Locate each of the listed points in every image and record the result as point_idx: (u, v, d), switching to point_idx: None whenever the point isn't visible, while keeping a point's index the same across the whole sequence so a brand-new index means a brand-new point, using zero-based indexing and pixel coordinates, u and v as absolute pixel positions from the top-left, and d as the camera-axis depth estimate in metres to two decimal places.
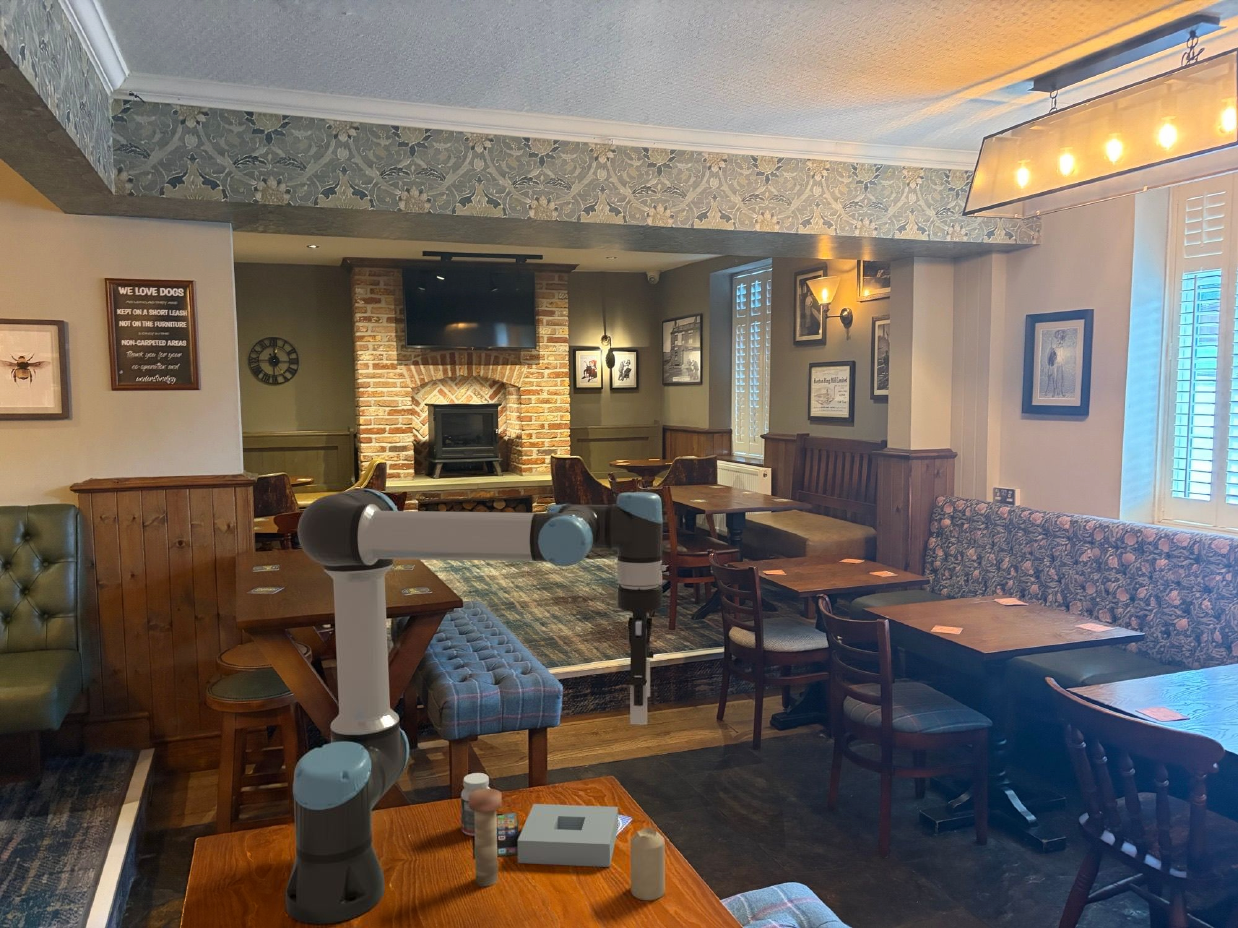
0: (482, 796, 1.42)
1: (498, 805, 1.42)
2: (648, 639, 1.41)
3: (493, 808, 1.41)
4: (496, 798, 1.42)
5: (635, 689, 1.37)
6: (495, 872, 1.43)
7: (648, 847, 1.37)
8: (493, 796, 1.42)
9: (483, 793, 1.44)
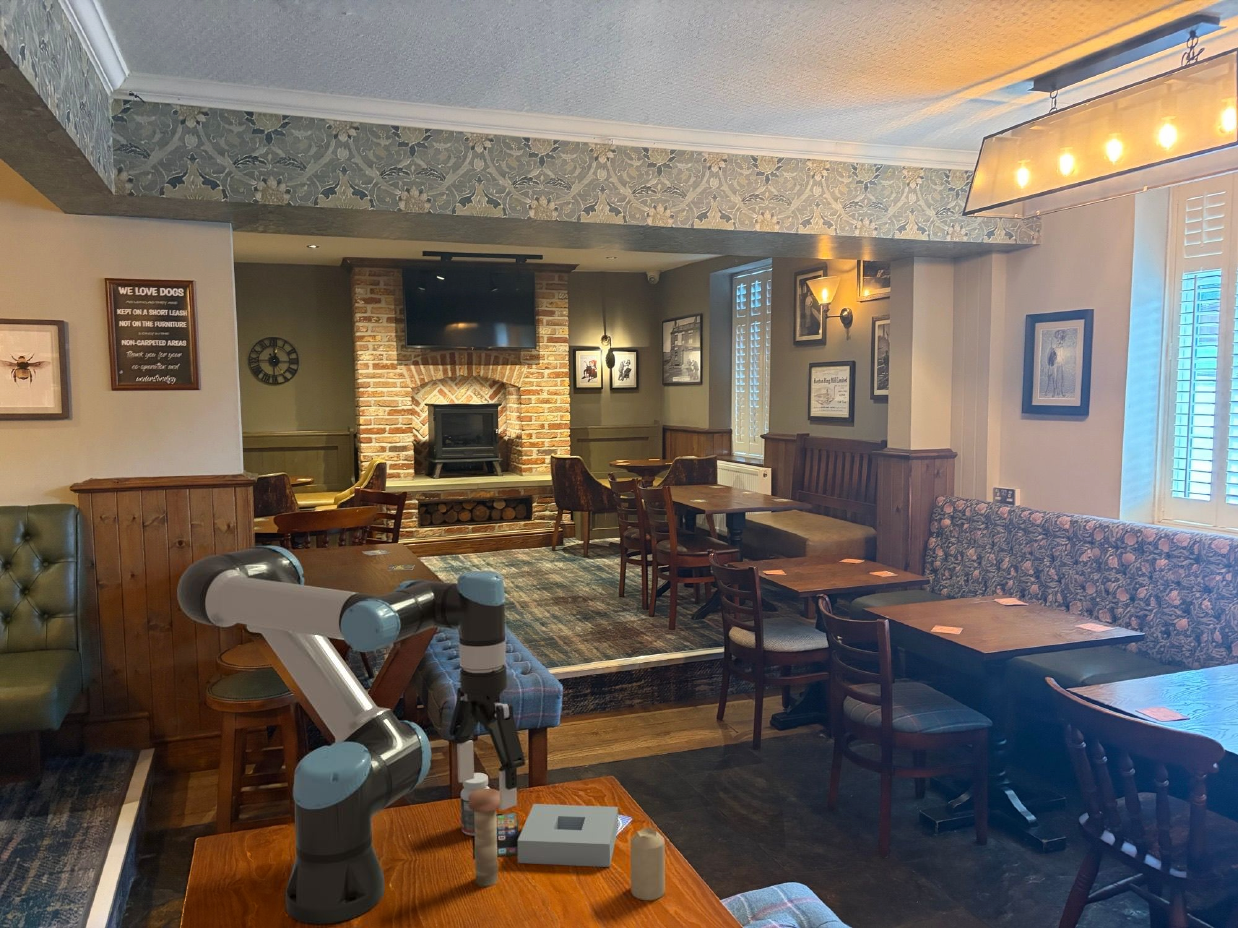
0: (482, 796, 1.42)
1: (498, 805, 1.42)
2: None
3: (493, 808, 1.41)
4: (496, 798, 1.42)
5: (510, 772, 1.35)
6: (495, 872, 1.43)
7: (648, 847, 1.37)
8: (493, 796, 1.42)
9: (482, 793, 1.44)
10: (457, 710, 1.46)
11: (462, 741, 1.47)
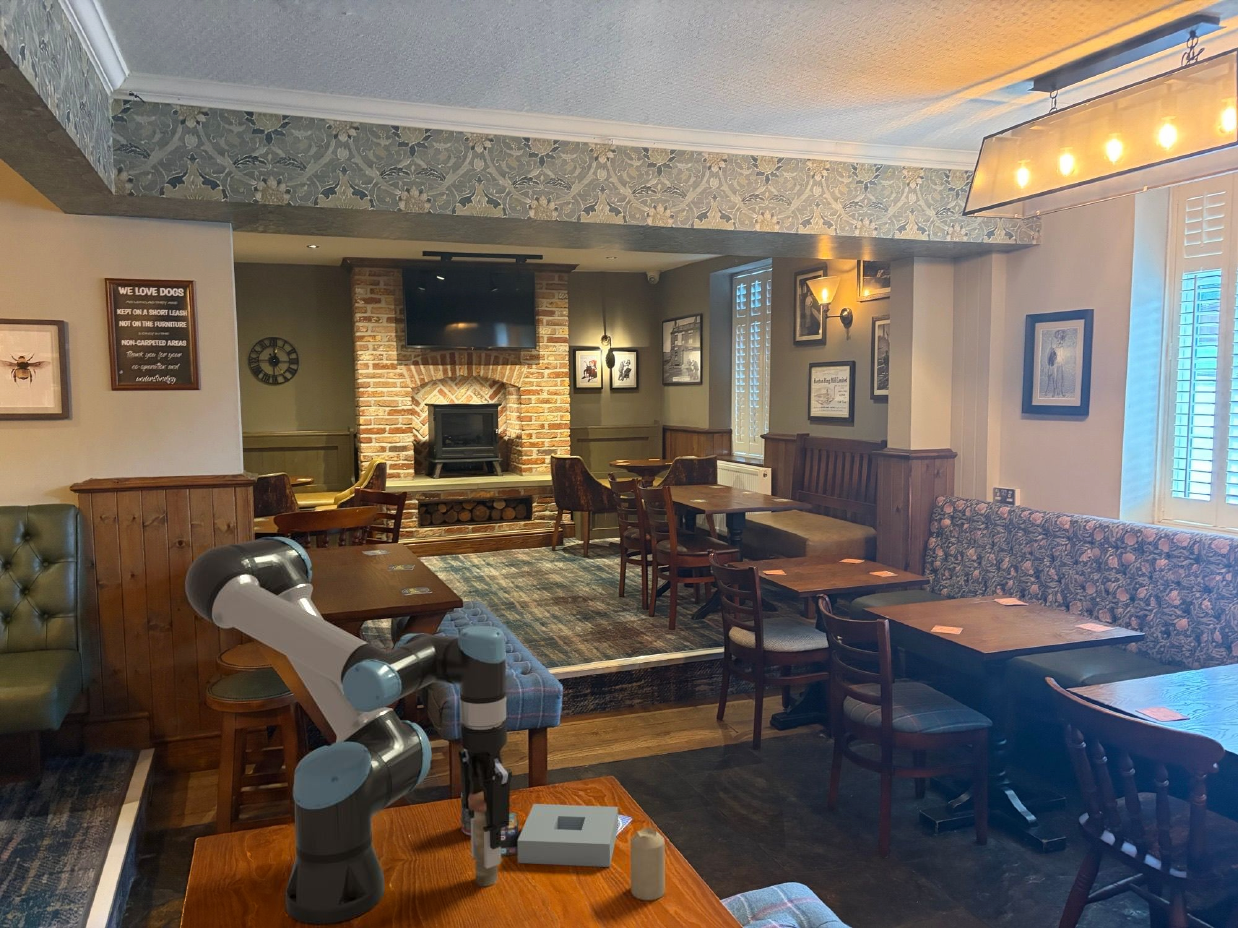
0: (482, 796, 1.42)
1: None
2: None
3: None
4: None
5: (494, 833, 1.40)
6: (495, 872, 1.43)
7: (648, 847, 1.37)
8: None
9: (482, 793, 1.44)
10: (464, 775, 1.45)
11: None
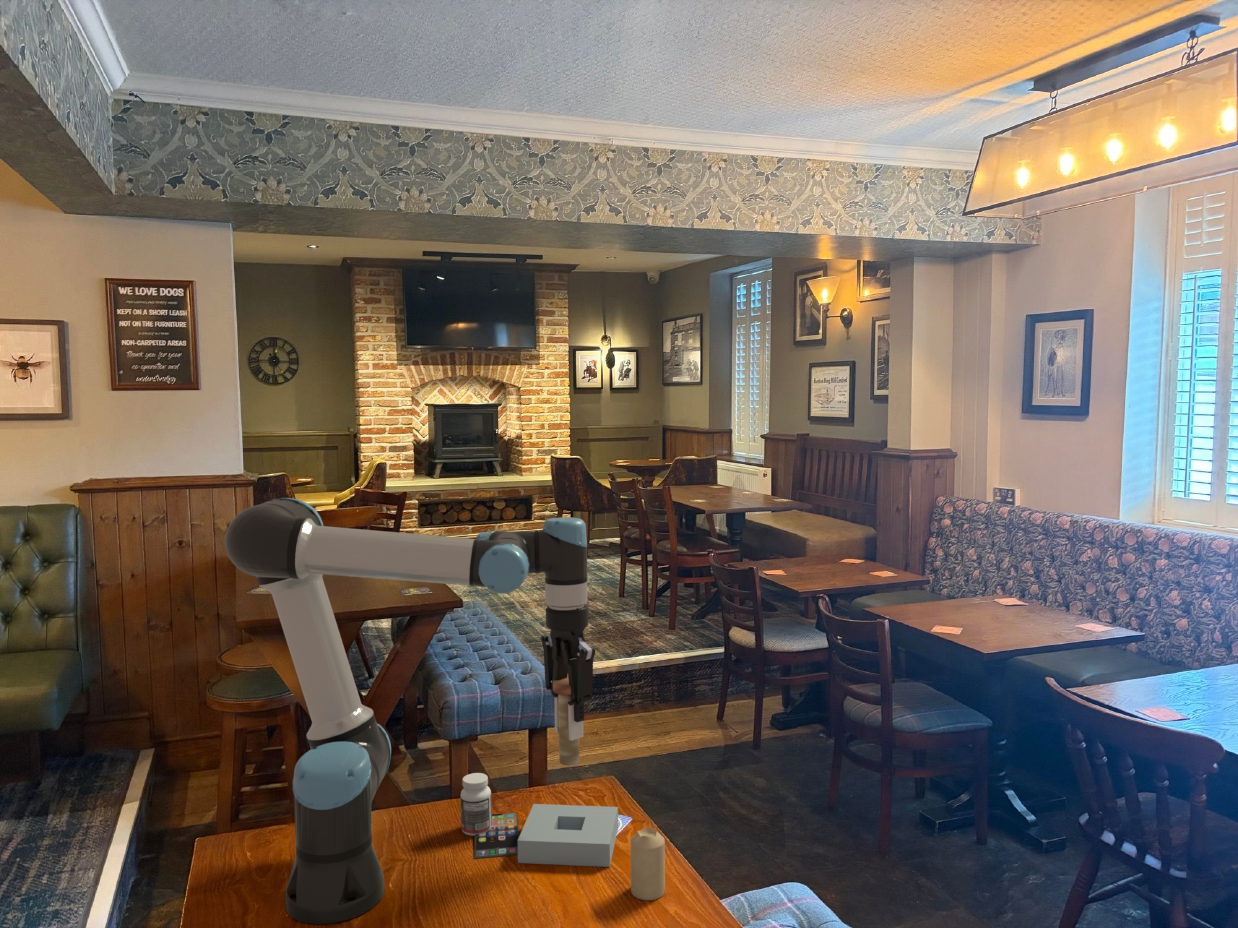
0: (565, 682, 1.53)
1: None
2: None
3: None
4: None
5: (578, 707, 1.50)
6: (578, 753, 1.53)
7: (648, 847, 1.37)
8: None
9: (565, 680, 1.54)
10: (547, 658, 1.56)
11: None
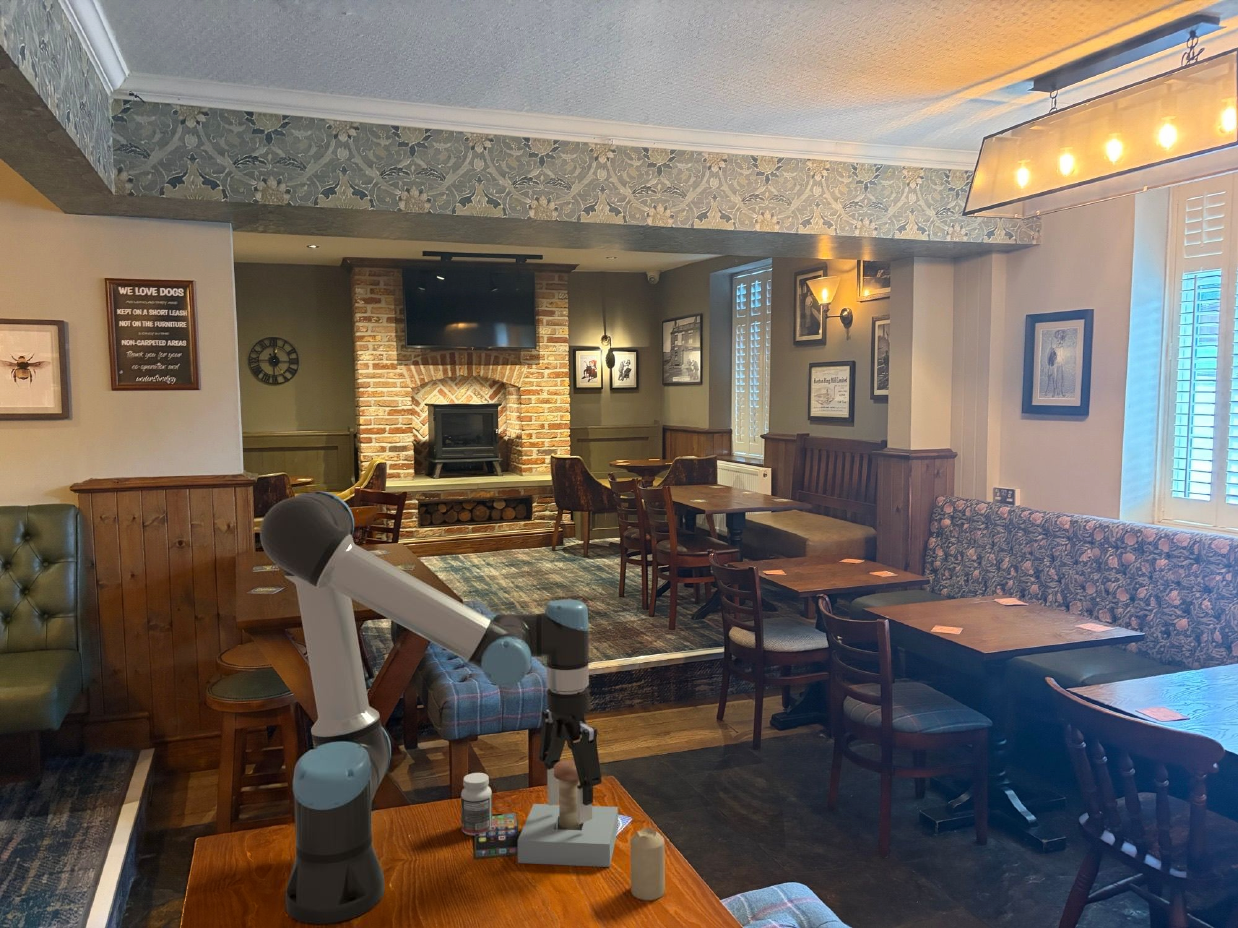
0: (566, 766, 1.54)
1: None
2: None
3: (577, 777, 1.52)
4: None
5: (587, 790, 1.50)
6: None
7: (648, 847, 1.37)
8: None
9: (566, 764, 1.55)
10: (544, 733, 1.58)
11: (551, 767, 1.58)
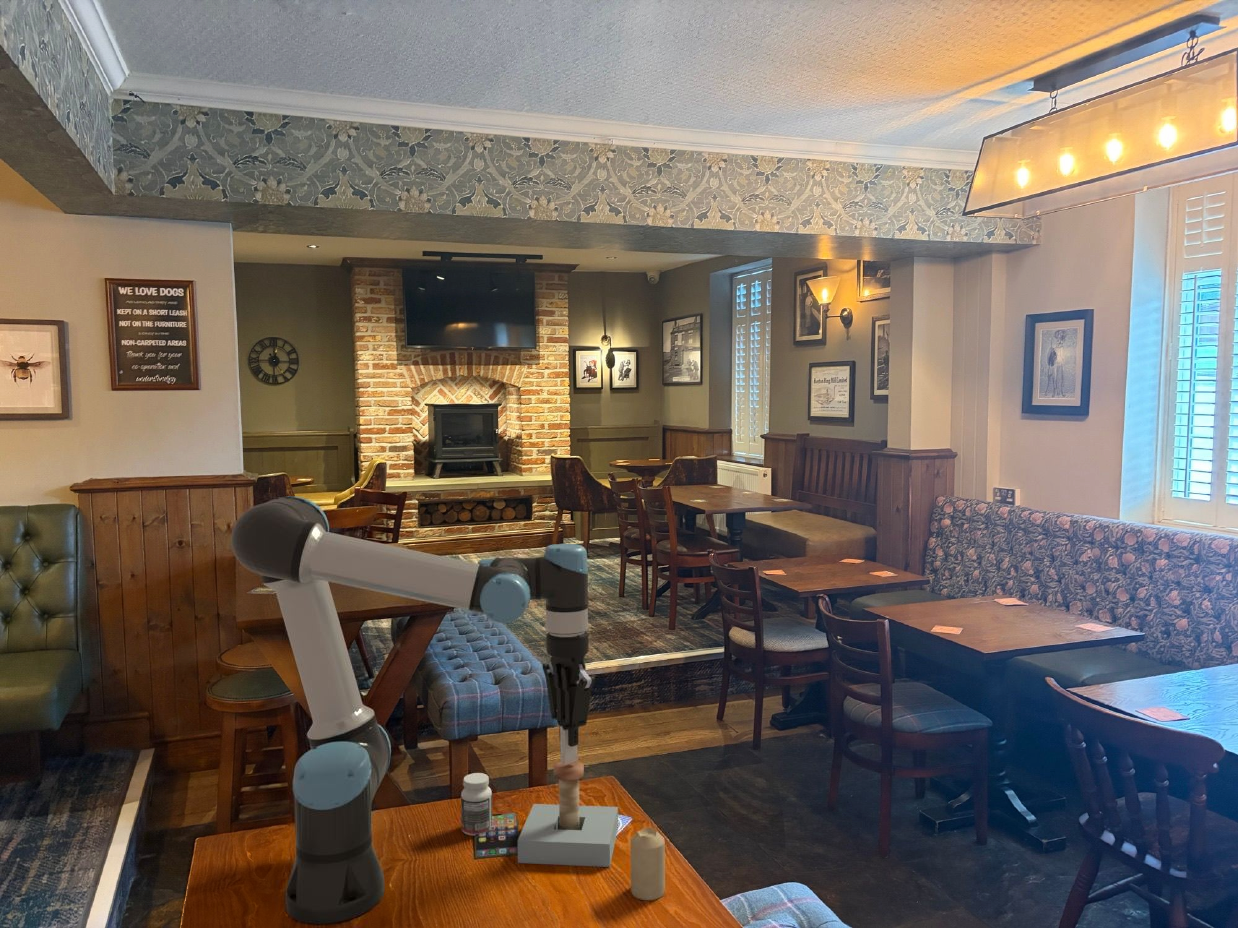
0: (566, 766, 1.54)
1: (581, 774, 1.53)
2: None
3: (577, 777, 1.52)
4: (579, 768, 1.53)
5: (573, 731, 1.52)
6: None
7: (648, 847, 1.37)
8: (577, 767, 1.54)
9: None
10: (550, 686, 1.56)
11: (564, 724, 1.54)
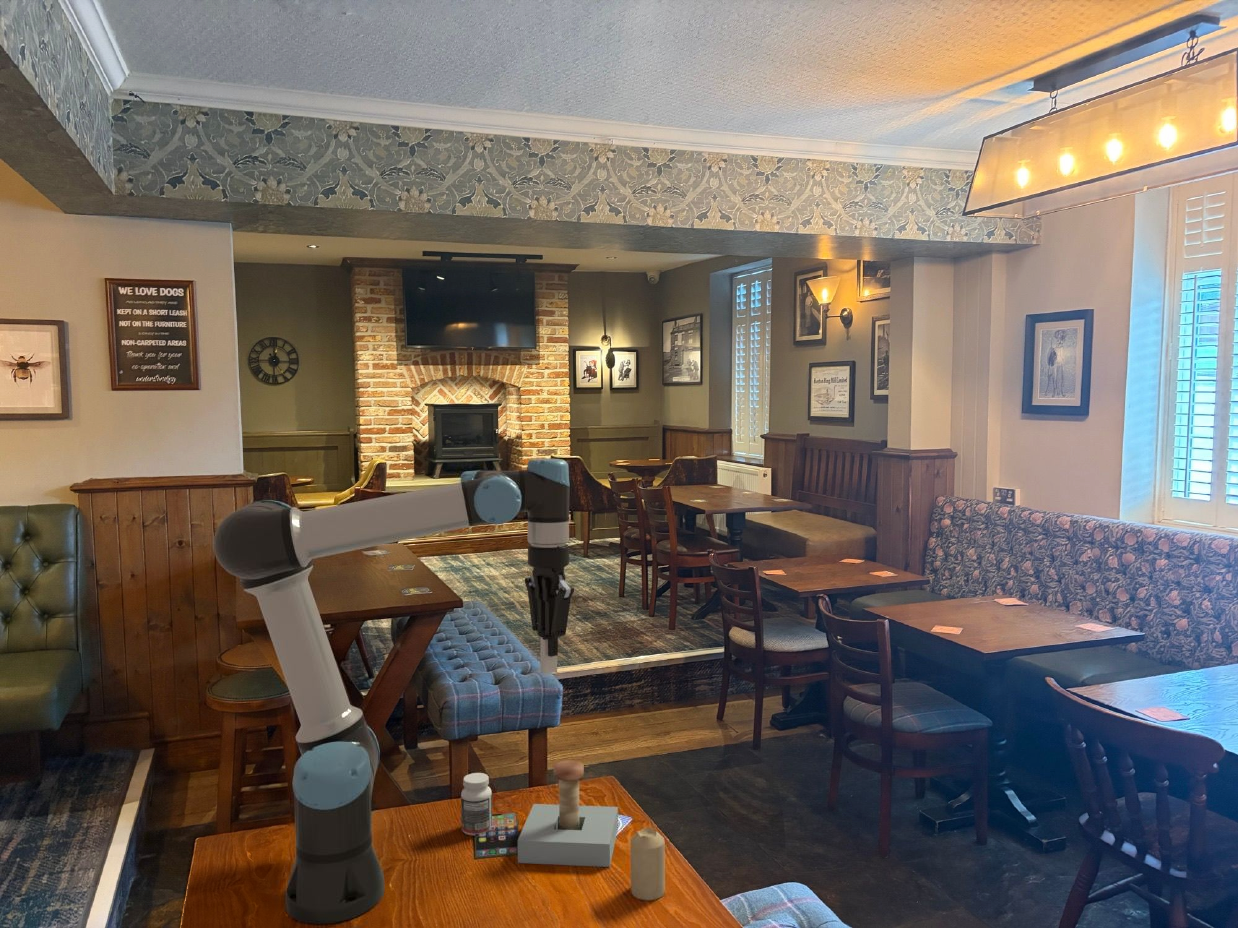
0: (566, 766, 1.54)
1: (581, 774, 1.53)
2: None
3: (577, 777, 1.52)
4: (579, 768, 1.53)
5: (552, 641, 1.55)
6: None
7: (648, 847, 1.37)
8: (577, 767, 1.54)
9: (566, 764, 1.55)
10: (531, 598, 1.59)
11: None
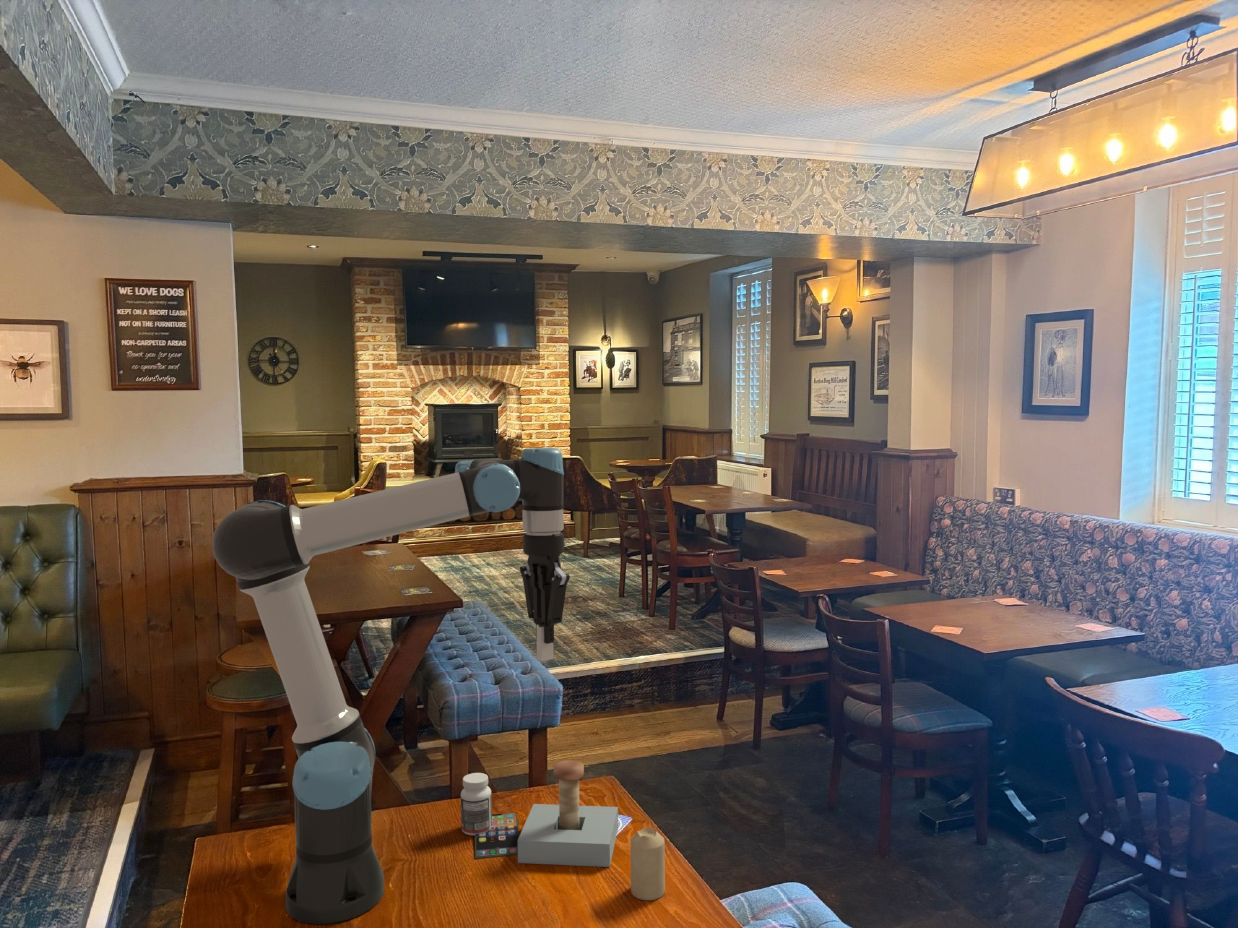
0: (566, 766, 1.54)
1: (581, 774, 1.53)
2: None
3: (577, 777, 1.52)
4: (579, 768, 1.53)
5: (548, 629, 1.57)
6: None
7: (648, 847, 1.37)
8: (577, 767, 1.54)
9: (566, 764, 1.55)
10: (527, 587, 1.60)
11: (541, 623, 1.59)
